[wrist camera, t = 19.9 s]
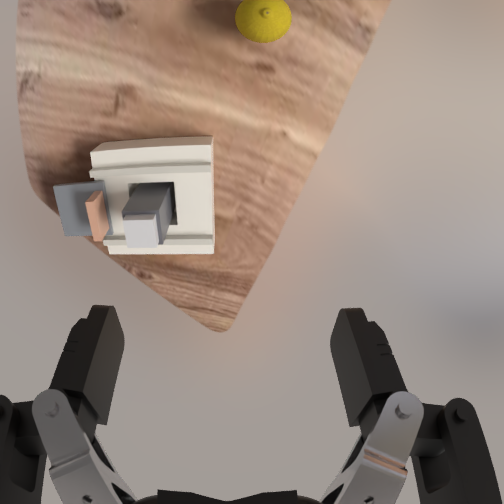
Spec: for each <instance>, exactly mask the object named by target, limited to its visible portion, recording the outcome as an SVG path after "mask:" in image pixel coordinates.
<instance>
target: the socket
mask: <svg viewBox="0 0 504 504" xmlns="http://www.w3.org/2000/svg"><path fill="white" fill-rule="evenodd" d="M90 154H91V162H92V169H91V170H90V171H89V173H90V178H94V181H103V180H104V182H105V188H106V194H107V200H108V205H109V211H110V216H111V221H112V227H113V231H114V233H113V235H105V237H104V239H103V243H104V246H108V250H109V254H214V242H215V225H214V180H213V136H198V137H170V138H152V139H137V140H125V141H114V142H104V143H101V144H100V145H99V146H97V147H96V148H95V149H93V150H92V151H91V152H90ZM150 182H174V194H175V206H176V207H175V210H174V213H173V216H172V219H171V222H170V225H169V228H168V231H167V234H166V237H165V240H164V243H163V245H158V246H157V248H127V243H126V237H125V232H124V227H123V221H122V220H123V217H122V212H121V211H122V210H123V208H124V207H125V205H126V203H127V202H128V200H129V199H130V197H131V196H132V194H133V192H134V191H135V189H136V188H137V186H138V185H139V183H150Z"/></svg>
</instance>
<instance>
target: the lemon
mask: <svg viewBox="0 0 504 504" xmlns="http://www.w3.org/2000/svg"><path fill="white" fill-rule="evenodd" d="M291 19H292V16H291V11H290V9H289V7H288V5H287V4H286V3H285V2H284V1H283V0H243V1H242V2H241V3H240V5H239V6H238V8H237V10H236V14H235V23H236V26H237V28H238V30H239V31H240V33H241V34H242V35H243V36H245V37H246V38H247V39H249V40H251V41H254V42H259V43H268V42H273V41H275V40H277V39H280V38H281V37H282V36H283V35H285V33H286V32H287V31H288V29H289V27H290V25H291Z"/></svg>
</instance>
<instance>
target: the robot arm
mask: <svg viewBox="0 0 504 504" xmlns="http://www.w3.org/2000/svg"><path fill="white" fill-rule="evenodd" d="M388 344H389V343H388V340H387V338H386V336H385V333H384V331H383V330H382V329H381V328H380V327H379V326H378V325H377V324H376V323H375V321H371V322H368V321H367V318H366V316H365V313H364V311H363V309H362V308H345V309H341V310H340V311H339V314H338V317H337V320H336V323H335V326H334V329H333V332H332V335H331V340H330V347H331V353H332V357H333V361H334V365H335V369H336V372H337V377H338V381H339V384H340V389H341V393H342V397H343V401H344V405H345V409H346V413H347V417H348V422H349V426H350V427H353V426H359V425H360V429H361V434H360V435H359V437H358V439H357V441H356V443H355V445H354V447H353V449H352V450H351V452H350V454H349V456H348V458H347V459H346V461H345V463H344V465H343V467H342V468H341V470H340V472H339V474H338V475H337V476H336V478H335V479H334V481H333V482H332V483H331V484H330V486H329V487H328V489H327V490H326V492H325V493H324V495H323V496H322V498H321V499H320V501H317V500H314V499H311V498H308V497H304V496H298V495H297V490H293V491H281V492H267V493H260V494H257V495H253V496H249V497H245V498H241V499H237V500H233V501H222V500H218V499H214V498H209V497H206V496H202V495H199V494H195V493H191V492H177V491H167V490H158V493H157V494H158V495H154V496H150V497H146V498H143V499H140V500H137V498H136V497H135V495H134V494H133V492H132V491H131V489H130V488H129V487H128V485H127V484H126V483H125V482H124V480H123V479H122V478H121V477H120V475H119V474H118V472H117V471H116V469H115V467H114V466H113V464H112V462H111V460H110V459H109V457H108V455H107V453H106V452H105V450H104V448H103V446H102V444H101V443H100V441H99V439H98V437H97V435H96V434H95V430H96V425H97V424H102V425H107V421H108V416H109V411H110V406H111V401H112V397H113V392H114V388H115V383H116V379H117V375H118V370H119V366H120V362H121V358H122V354H123V350H124V334H123V331H122V328H121V325H120V322H119V319H118V316H117V313H116V310H115V308H114V306H105V305H93V306H92V308H91V310H90V312H89V315H88V317H87V319H84V318H81V319H80V320H79V321H78V322H77V323H76V324H75V325H74V326H73V327H72V329H71V331H70V334H69V336H68V339H67V342H66V344H65V346H64V349H63V350H64V351H63V352H62V354H61V357H60V359H59V362H58V365H57V368H56V370H55V373H54V377H53V379H52V382H51V385H50V387H49V389H48V390H45V391H43V392H41V393H40V394H39V395H37V397H36V398H35V400H34V401H27V402H19V403H12V402H11V401H10V400H9V399H8V398H7V397H6V396H4V395H0V504H41V496H42V486H43V478H44V471H45V465H46V458H47V455H48V457H49V460H50V462H51V468H50V469H49V473H50V477H51V479H52V481H53V484H54V486H55V488H56V490H57V492H58V494H59V496H60V498H61V500H62V502H63V504H395V502H396V500H397V498H398V496H399V494H400V492H401V489H402V487H403V485H404V483H405V480H406V477H407V473H408V471H407V469H405V465H406V462H407V460H408V457H409V456H411V458H412V463H413V467H414V472H415V477H416V482H417V487H418V493H419V498H420V504H502V500H501V496H500V491H499V487H498V483H497V479H496V475H495V471H494V467H493V464H492V461H491V457H490V453H489V450H488V447H487V444H486V440H485V437H484V434H483V431H482V428H481V425H480V422H479V419H478V417H477V414H476V411H475V409H474V407H473V405H472V404H471V403H469V402H468V401H467V400H465V399H462V398H455V399H452V400H451V401H449V402H448V403H447V404H446V405H445V406H442V405H433V404H425V403H422V402H421V401H420V400H419V398H417V397H416V396H415V395H413V394H412V393H409V392H408V391H407V389H406V386H405V384H404V381H403V378H402V376H401V373H400V371H399V368H398V365H397V363H396V360H395V358H394V355H392V350H391V348H390V346H389V345H388Z"/></svg>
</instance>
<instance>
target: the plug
mask: <svg viewBox="0 0 504 504" xmlns="http://www.w3.org/2000/svg"><path fill="white" fill-rule="evenodd" d="M175 207H176V206H175V194H174V182H150V183H139V185H138V186H137V188H136V189H135V191H134V192H133V194H132V196H131V197H130V199H129V200H128V202H127V203H126V205H125V207H124V208H123V210H122V211H121V212H122V217H123V220H122V221H123V227H124V232H125V237H126V243H127V248H157V246H158V245H163V243H164V240H165V237H166V234H167V231H168V228H169V225H170V222H171V219H172V216H173V213H174V210H175Z"/></svg>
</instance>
